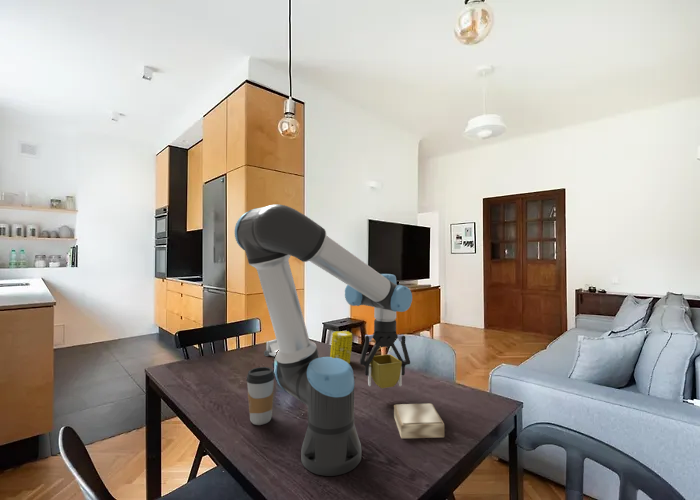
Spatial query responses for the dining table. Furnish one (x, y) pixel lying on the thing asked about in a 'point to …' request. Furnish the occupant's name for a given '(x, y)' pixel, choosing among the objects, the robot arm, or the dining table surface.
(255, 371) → the coffee cup
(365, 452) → the dining table surface
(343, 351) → the food
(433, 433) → the cream square block
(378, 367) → the flower pot
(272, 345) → the toy car
